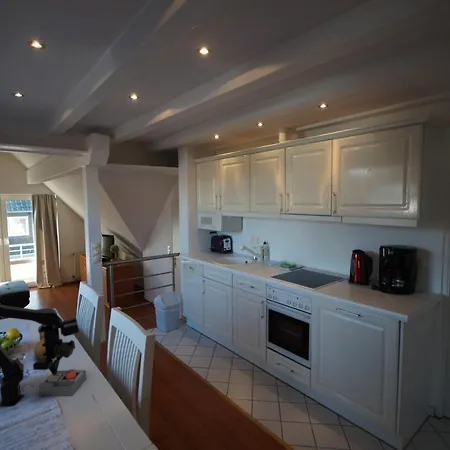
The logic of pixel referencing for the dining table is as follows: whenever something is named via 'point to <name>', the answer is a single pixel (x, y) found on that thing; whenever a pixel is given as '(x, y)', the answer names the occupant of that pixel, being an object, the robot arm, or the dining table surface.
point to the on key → (54, 378)
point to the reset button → (70, 374)
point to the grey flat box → (62, 385)
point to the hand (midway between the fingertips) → (54, 374)
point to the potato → (39, 349)
